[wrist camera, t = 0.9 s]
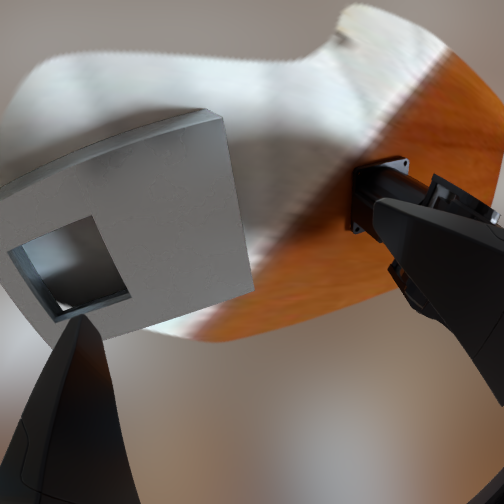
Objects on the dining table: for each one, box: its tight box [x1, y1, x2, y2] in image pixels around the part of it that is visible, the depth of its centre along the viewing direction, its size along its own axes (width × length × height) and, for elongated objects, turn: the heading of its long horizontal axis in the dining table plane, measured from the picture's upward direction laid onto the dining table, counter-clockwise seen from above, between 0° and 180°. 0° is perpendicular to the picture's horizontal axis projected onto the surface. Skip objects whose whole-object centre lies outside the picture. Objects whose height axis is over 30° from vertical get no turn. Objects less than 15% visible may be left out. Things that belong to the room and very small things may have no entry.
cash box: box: [0, 109, 255, 349], centre depth 18 cm, size 16×12×4 cm
